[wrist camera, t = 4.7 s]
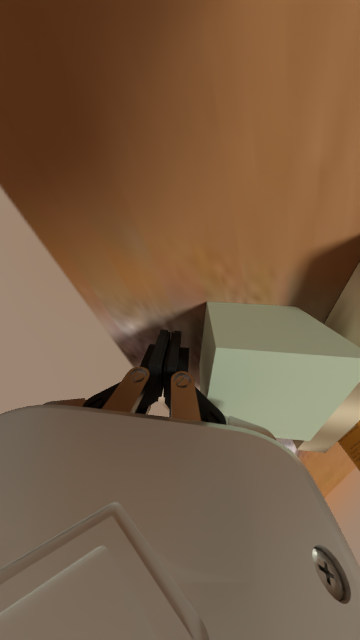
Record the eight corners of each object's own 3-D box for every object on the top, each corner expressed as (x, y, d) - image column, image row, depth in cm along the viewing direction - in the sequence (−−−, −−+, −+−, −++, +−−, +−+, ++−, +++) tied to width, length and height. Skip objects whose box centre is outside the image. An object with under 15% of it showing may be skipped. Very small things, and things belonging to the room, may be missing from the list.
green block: (206, 301, 12) (216, 347, 7) (296, 306, 12) (378, 359, 7) (199, 365, 16) (201, 429, 10) (269, 371, 15) (309, 441, 10)
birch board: (379, 226, 9) (495, 216, 6) (424, 228, 9) (571, 219, 6) (276, 407, 18) (297, 449, 14) (298, 409, 17) (325, 452, 14)
